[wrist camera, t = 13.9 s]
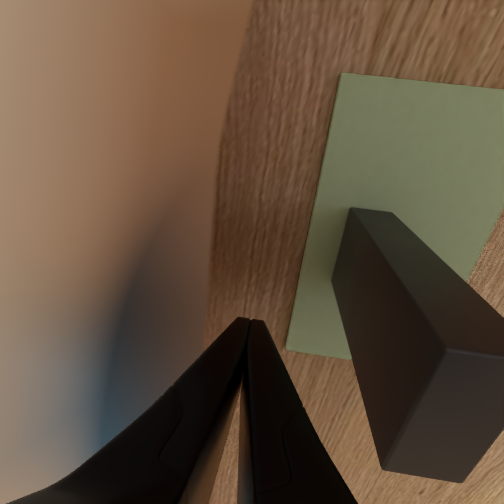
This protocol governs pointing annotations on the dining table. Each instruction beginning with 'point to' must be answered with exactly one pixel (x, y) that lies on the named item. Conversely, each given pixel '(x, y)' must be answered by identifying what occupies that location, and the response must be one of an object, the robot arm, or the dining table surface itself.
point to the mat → (400, 184)
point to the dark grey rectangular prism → (418, 349)
